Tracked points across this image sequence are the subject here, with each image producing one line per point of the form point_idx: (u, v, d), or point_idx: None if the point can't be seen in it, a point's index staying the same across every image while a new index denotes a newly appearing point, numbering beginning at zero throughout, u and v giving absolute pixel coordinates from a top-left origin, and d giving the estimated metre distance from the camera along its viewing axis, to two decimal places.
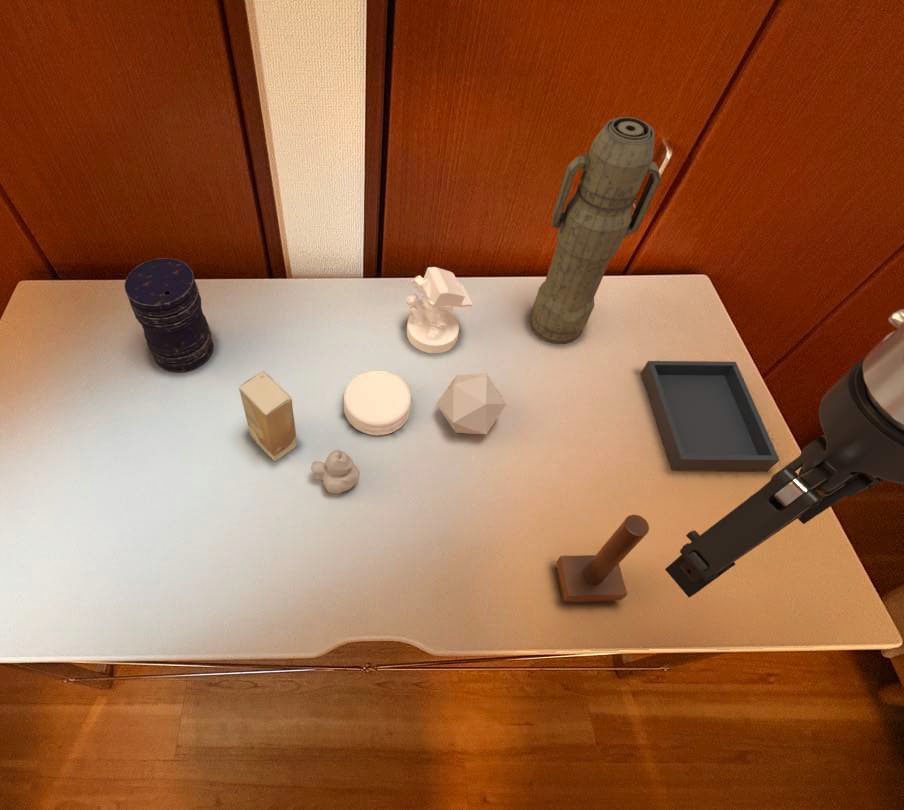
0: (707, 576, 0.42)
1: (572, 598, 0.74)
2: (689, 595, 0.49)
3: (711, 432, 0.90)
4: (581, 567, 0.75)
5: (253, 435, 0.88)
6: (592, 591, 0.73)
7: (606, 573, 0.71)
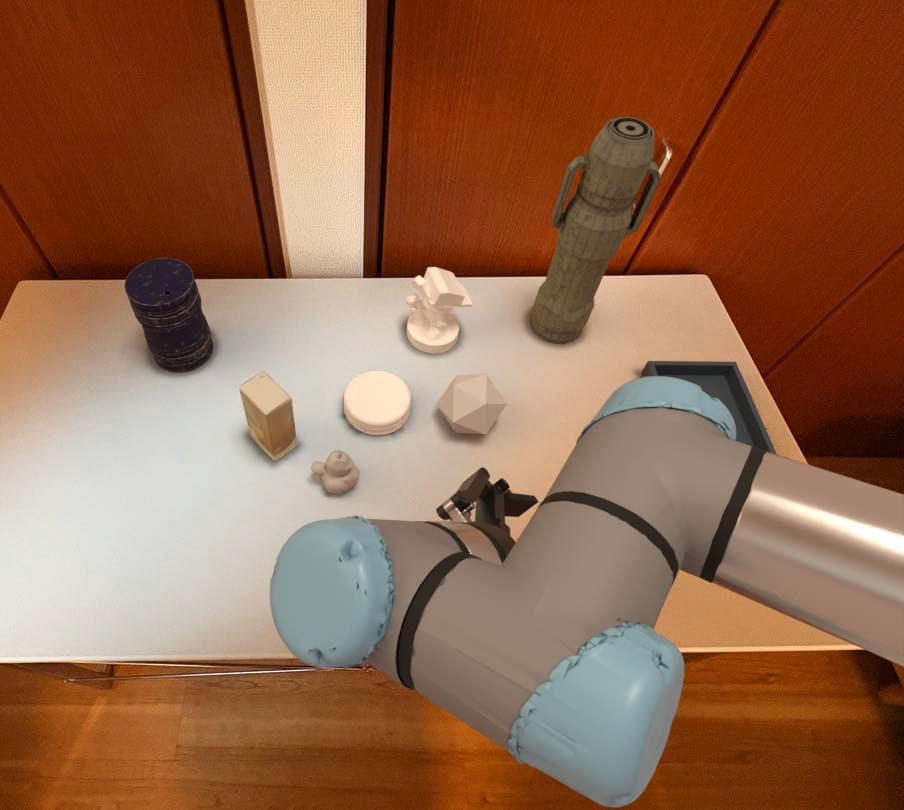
0: None
1: None
2: None
3: None
4: None
5: (253, 435, 0.88)
6: None
7: None
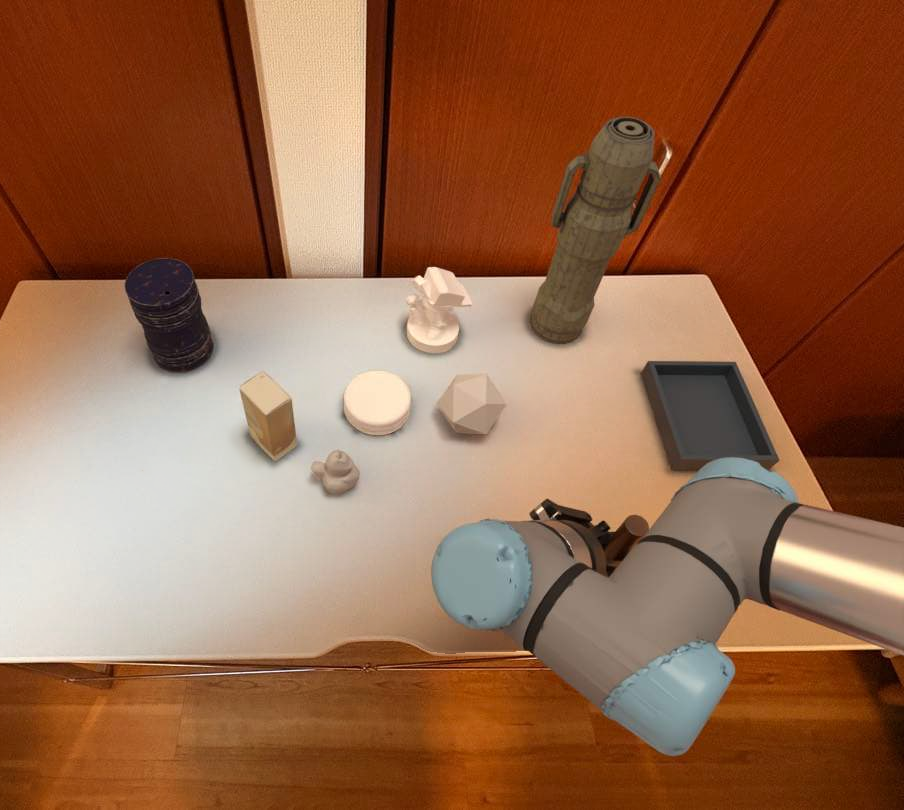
0: None
1: None
2: None
3: (711, 432, 0.90)
4: None
5: (253, 435, 0.88)
6: None
7: None
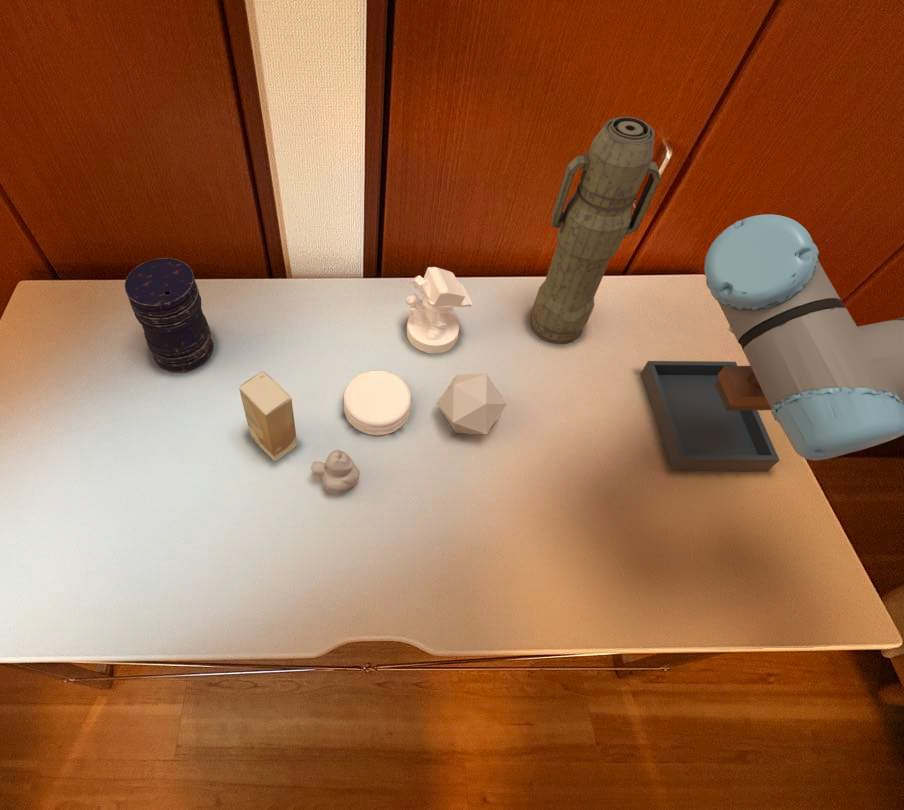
0: None
1: (740, 400, 0.78)
2: None
3: (711, 432, 0.90)
4: (746, 374, 0.80)
5: (253, 435, 0.88)
6: (759, 393, 0.78)
7: None
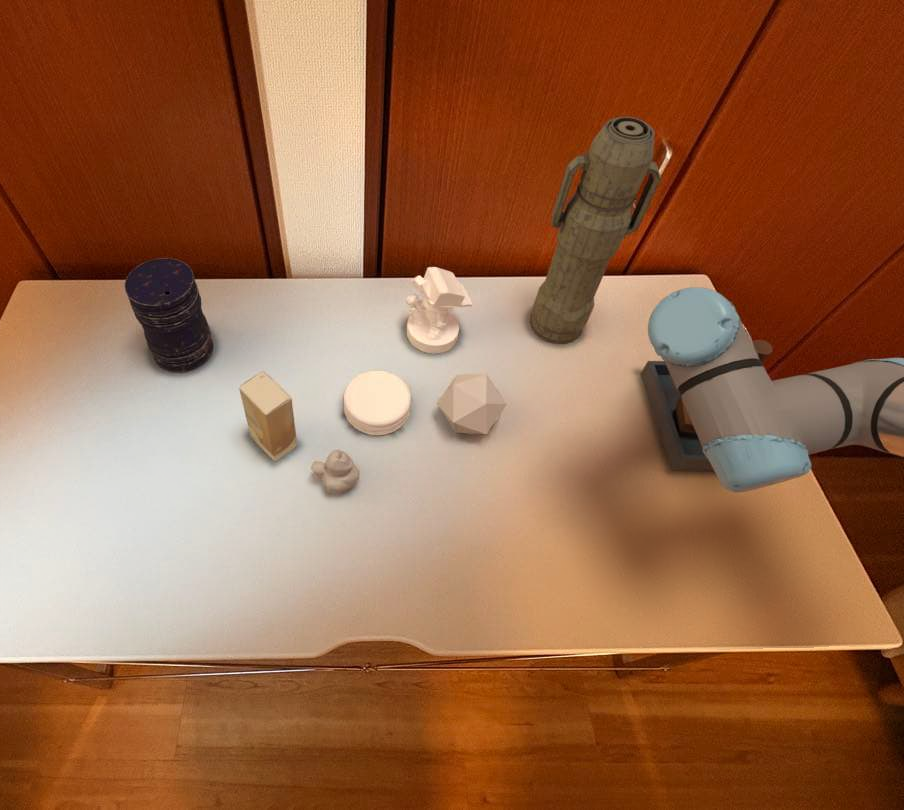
0: None
1: (687, 427, 0.87)
2: None
3: None
4: None
5: (253, 435, 0.88)
6: None
7: None
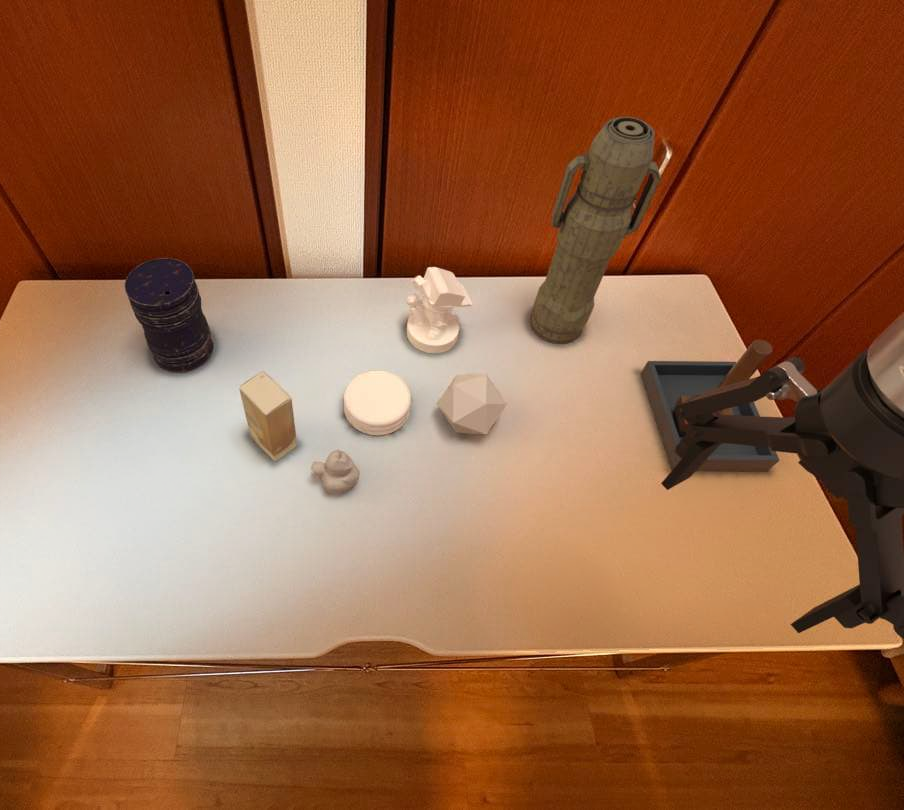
0: None
1: (687, 427, 0.87)
2: None
3: None
4: None
5: (253, 435, 0.88)
6: None
7: None
